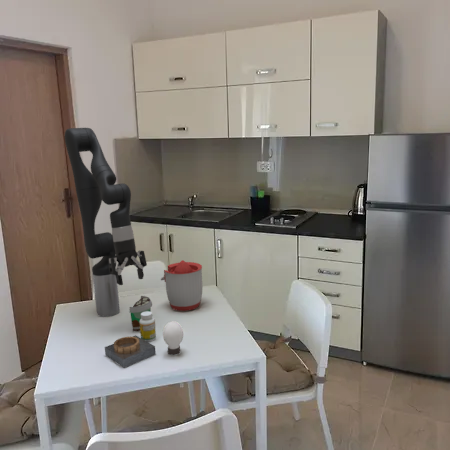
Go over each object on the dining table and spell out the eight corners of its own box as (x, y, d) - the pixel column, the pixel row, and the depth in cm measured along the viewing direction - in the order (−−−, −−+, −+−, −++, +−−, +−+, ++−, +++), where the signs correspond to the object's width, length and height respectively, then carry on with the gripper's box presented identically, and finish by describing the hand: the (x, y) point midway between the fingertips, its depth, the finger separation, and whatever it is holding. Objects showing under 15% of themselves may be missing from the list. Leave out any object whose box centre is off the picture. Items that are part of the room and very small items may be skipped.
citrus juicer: (168, 299, 205) (164, 255, 201) (207, 299, 202) (204, 254, 198) (158, 313, 190) (154, 266, 186) (200, 314, 187) (197, 266, 183)
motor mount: (105, 355, 157) (103, 341, 156) (136, 343, 164) (135, 330, 163) (123, 368, 148) (122, 353, 147) (155, 354, 156) (154, 340, 155)
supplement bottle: (155, 341, 165) (153, 316, 163) (140, 342, 165) (137, 316, 163) (156, 334, 170) (154, 310, 168) (142, 335, 170) (139, 310, 168)
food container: (147, 333, 172) (144, 308, 170) (131, 332, 173) (128, 307, 171) (158, 319, 183) (156, 295, 181) (143, 319, 185) (141, 295, 183)
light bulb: (166, 359, 152) (163, 327, 150) (162, 349, 159) (160, 319, 156) (186, 355, 154) (184, 324, 152) (182, 346, 160) (180, 316, 158)
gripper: (135, 235, 179) (142, 276, 180) (101, 242, 169) (108, 286, 171) (145, 234, 173) (152, 277, 175) (111, 242, 164) (118, 287, 165)
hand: (130, 281), depth 173 cm, fingers open, 8 cm apart
